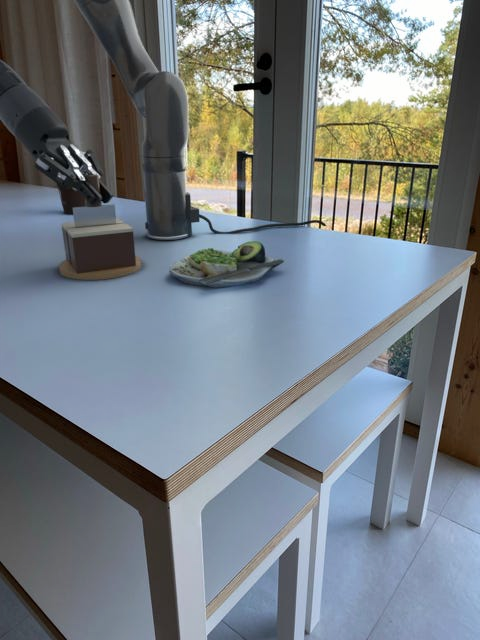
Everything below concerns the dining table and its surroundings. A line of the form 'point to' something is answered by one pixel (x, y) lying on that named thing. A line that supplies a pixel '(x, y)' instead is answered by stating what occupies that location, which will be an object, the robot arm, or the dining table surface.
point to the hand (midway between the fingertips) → (103, 201)
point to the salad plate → (225, 266)
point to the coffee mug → (70, 199)
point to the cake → (98, 251)
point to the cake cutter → (94, 210)
